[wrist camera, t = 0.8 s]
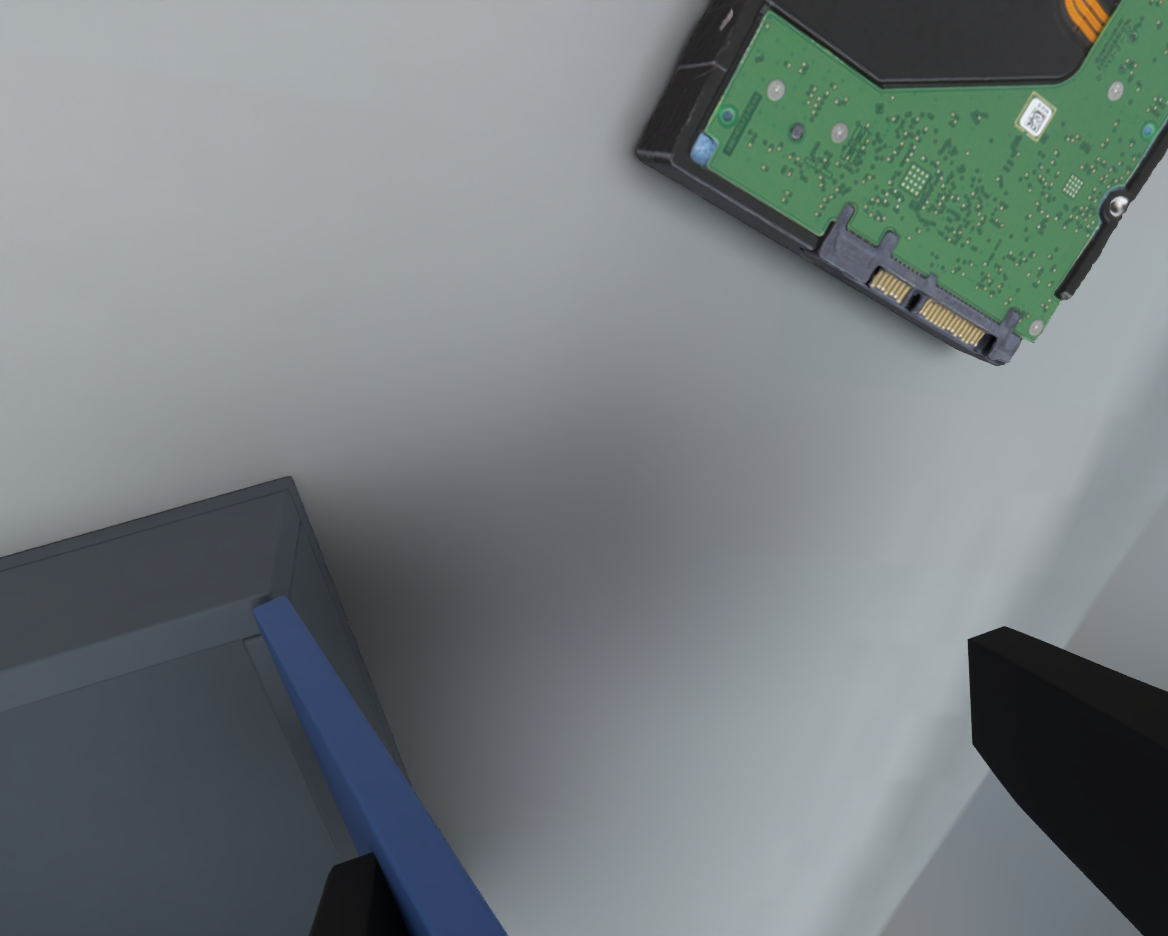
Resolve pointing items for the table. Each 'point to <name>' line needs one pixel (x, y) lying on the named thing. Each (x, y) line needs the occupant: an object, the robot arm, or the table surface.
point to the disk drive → (926, 144)
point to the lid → (373, 789)
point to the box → (168, 727)
